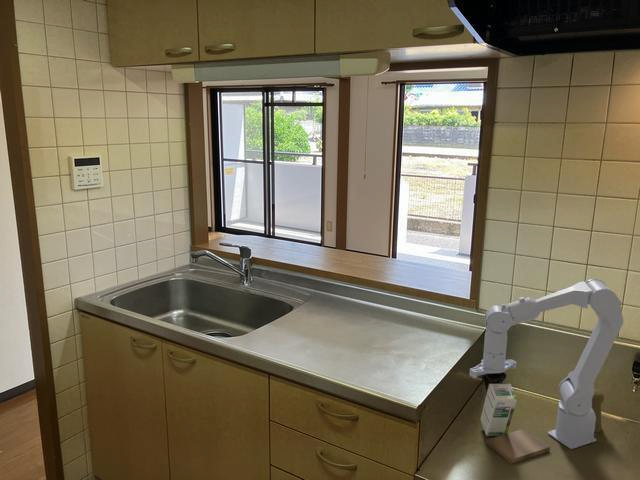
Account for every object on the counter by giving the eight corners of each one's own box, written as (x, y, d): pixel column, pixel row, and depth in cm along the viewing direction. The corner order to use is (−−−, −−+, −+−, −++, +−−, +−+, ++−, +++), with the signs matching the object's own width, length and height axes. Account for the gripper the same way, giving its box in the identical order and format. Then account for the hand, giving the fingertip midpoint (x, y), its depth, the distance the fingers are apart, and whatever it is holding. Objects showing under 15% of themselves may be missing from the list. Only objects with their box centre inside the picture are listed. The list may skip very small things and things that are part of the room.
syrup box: (486, 436, 142) (496, 400, 134) (479, 418, 147) (489, 382, 139) (506, 436, 142) (518, 399, 135) (499, 418, 147) (510, 382, 140)
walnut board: (523, 432, 144) (523, 428, 144) (549, 451, 136) (549, 446, 136) (486, 443, 139) (486, 439, 139) (510, 463, 131) (511, 459, 131)
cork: (572, 421, 150) (577, 386, 147) (591, 419, 151) (596, 384, 148) (587, 433, 144) (591, 397, 141) (606, 431, 145) (611, 395, 142)
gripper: (505, 340, 147) (501, 384, 150) (463, 349, 141) (460, 394, 144) (523, 350, 141) (519, 395, 144) (481, 359, 135) (477, 407, 138)
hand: (491, 396), depth 144 cm, fingers closed
